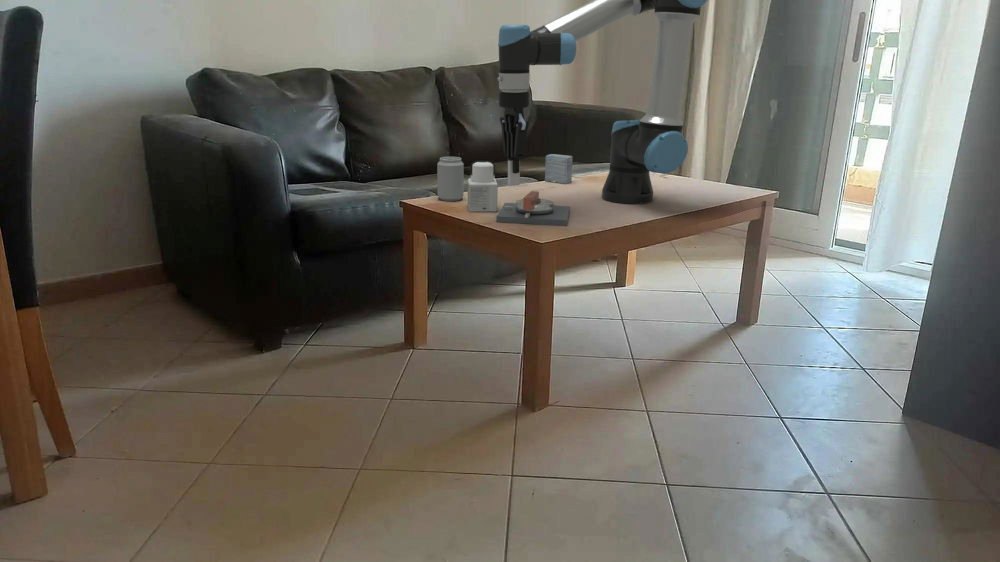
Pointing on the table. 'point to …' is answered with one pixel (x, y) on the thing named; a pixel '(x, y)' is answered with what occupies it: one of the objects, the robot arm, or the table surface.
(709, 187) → the table surface
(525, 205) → the dial
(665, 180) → the table surface
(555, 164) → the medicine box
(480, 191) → the container
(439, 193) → the can
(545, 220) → the plate
